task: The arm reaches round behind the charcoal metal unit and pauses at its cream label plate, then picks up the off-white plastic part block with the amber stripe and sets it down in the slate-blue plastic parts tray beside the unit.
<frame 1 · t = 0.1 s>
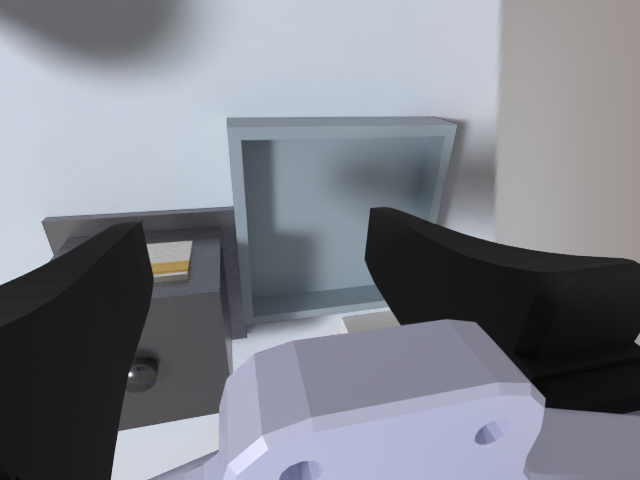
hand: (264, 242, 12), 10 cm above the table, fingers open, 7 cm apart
tray: (331, 215, 23), on the table
unit: (161, 284, 23), on the table
part block: (366, 334, 29), on the table
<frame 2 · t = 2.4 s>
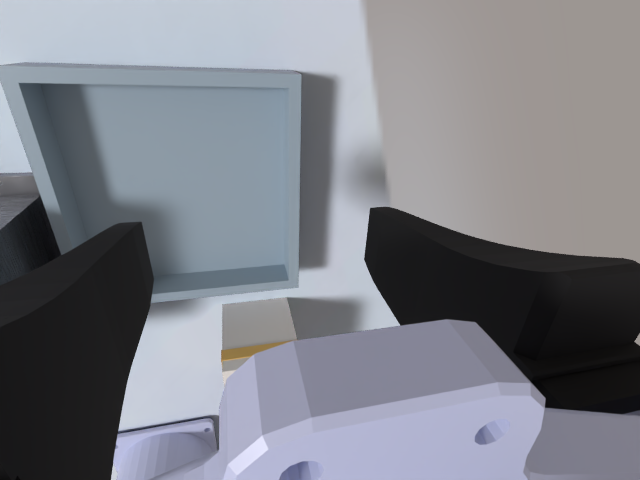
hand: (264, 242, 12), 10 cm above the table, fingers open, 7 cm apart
tray: (186, 185, 20), on the table
part block: (256, 324, 27), on the table
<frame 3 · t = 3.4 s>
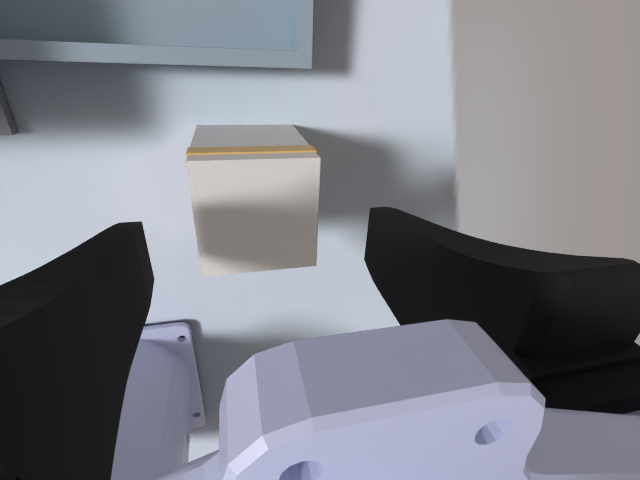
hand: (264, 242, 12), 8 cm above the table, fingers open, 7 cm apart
part block: (248, 170, 18), on the table
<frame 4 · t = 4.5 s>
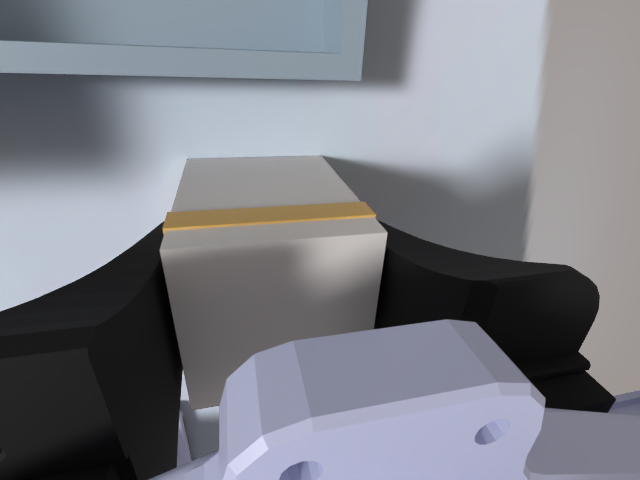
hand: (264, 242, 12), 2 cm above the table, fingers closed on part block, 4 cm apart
part block: (259, 217, 13), on the table, touching gripper
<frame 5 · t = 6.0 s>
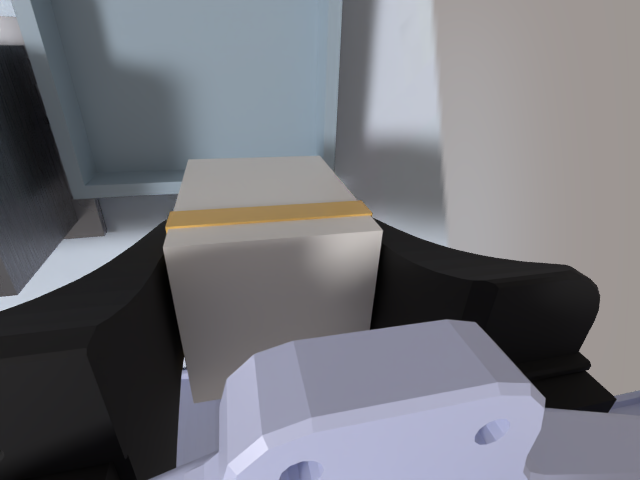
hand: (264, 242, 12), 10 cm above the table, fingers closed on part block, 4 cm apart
tray: (200, 50, 17), on the table
part block: (259, 216, 14), point 7 cm above the table, touching gripper
when the fingers open (4 cm above the table, at t = 7.8 s): part block drops 1 cm, resting on tray.
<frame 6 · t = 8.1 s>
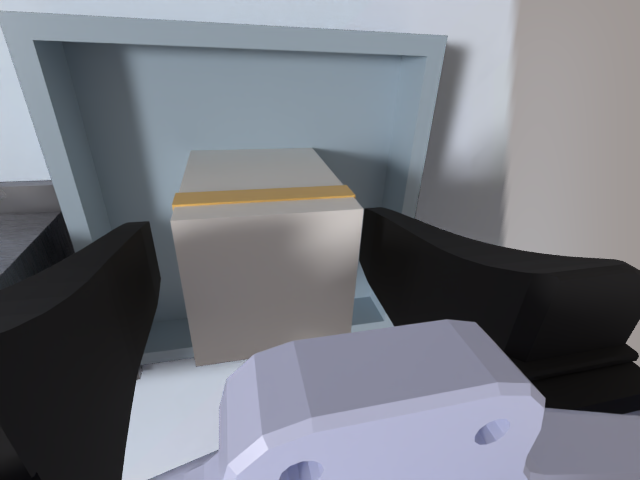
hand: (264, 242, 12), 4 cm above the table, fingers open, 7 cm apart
tray: (255, 196, 15), on the table
part block: (256, 204, 15), point 1 cm above the table, touching tray
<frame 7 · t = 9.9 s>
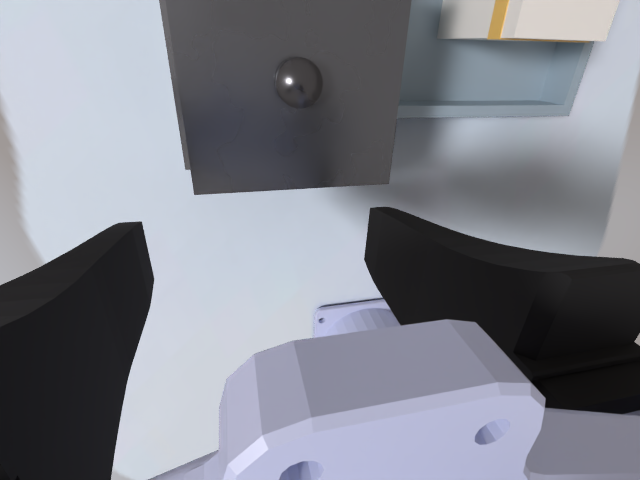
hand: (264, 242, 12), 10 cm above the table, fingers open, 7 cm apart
unit: (273, 69, 19), on the table
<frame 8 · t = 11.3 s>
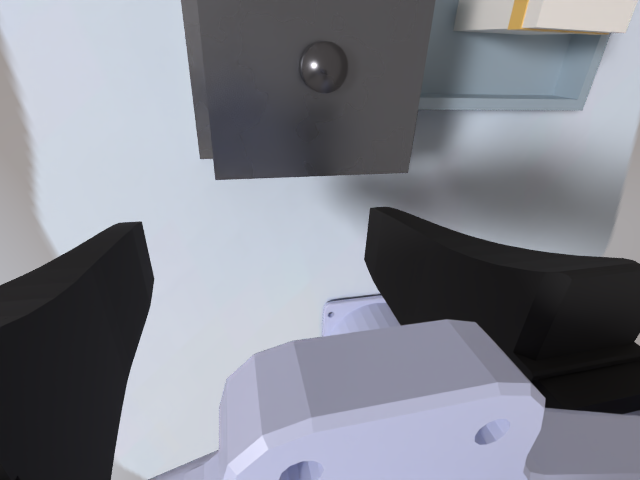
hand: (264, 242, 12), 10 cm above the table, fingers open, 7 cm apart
unit: (289, 58, 19), on the table
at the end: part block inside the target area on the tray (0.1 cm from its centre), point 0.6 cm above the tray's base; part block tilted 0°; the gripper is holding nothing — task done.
